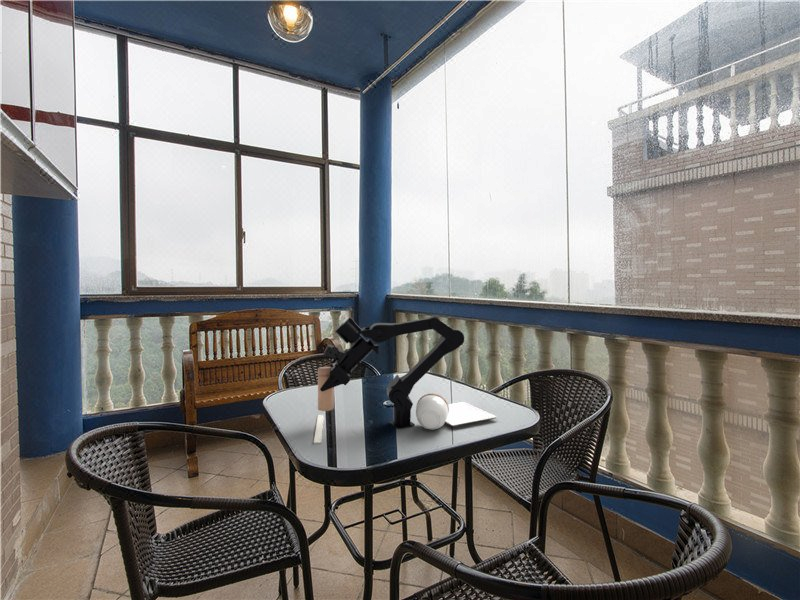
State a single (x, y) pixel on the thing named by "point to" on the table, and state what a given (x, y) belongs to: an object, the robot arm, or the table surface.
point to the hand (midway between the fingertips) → (321, 388)
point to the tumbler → (328, 395)
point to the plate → (466, 414)
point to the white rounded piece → (432, 411)
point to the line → (319, 429)
